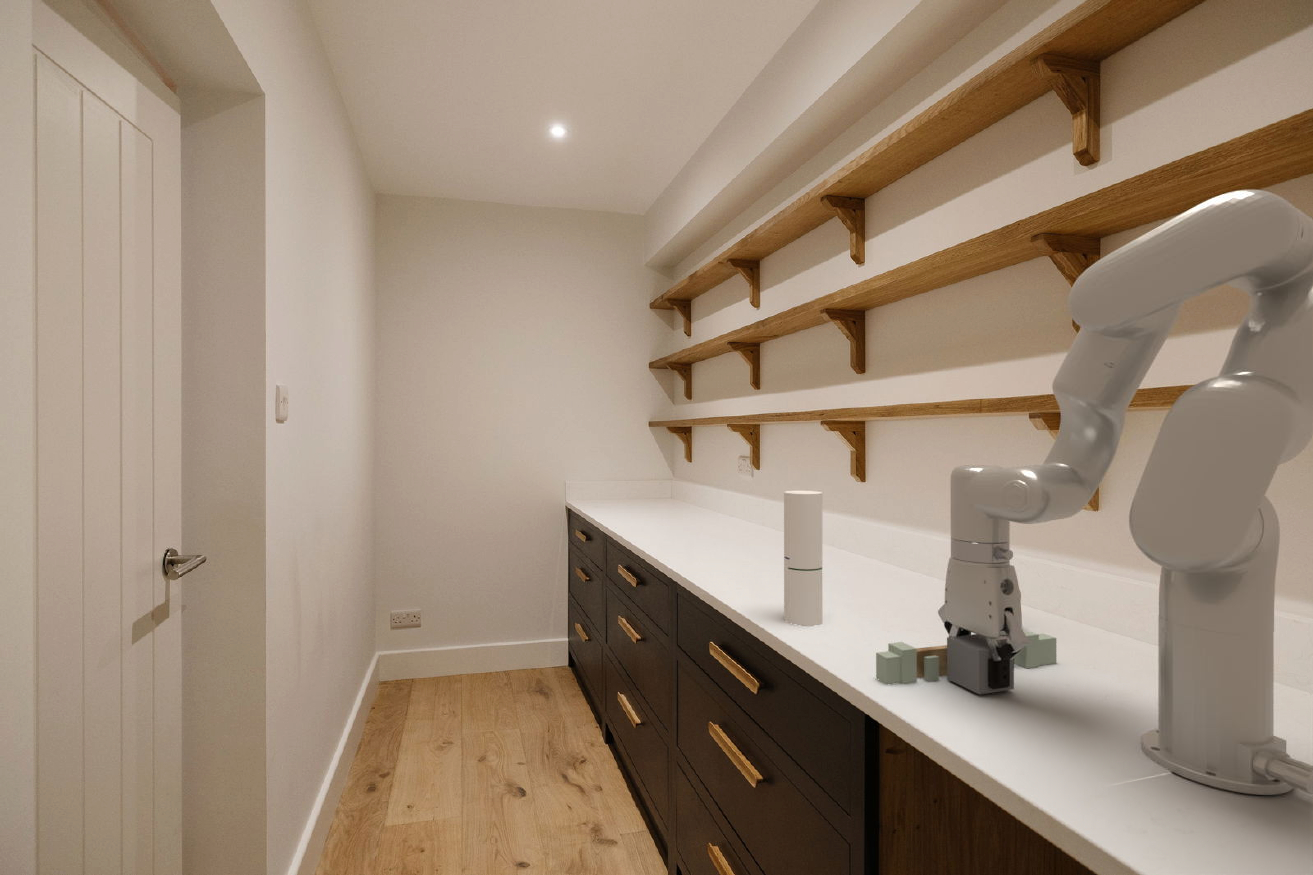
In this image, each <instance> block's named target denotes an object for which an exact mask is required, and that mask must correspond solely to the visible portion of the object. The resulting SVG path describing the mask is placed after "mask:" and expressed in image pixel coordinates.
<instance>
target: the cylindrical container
mask: <svg viewBox="0 0 1313 875" xmlns="http://www.w3.org/2000/svg"><path fill="white" fill-rule="evenodd" d="M783 556H784V557H783V603H784V604H783V610H784V611H783V614H784V615H783V620H784V622H785V621H787V622H788V623H787V622H786V623H787V624H789V623H792V624H791V625H793V624H797V625H796V626H798V625H801V626H800V627H815V626H814V625H817V626H820V625H822V624H823V492H822V491H817V490H816V491H815V490H787V491H784V492H783Z"/></svg>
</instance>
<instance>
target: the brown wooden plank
mask: <svg viewBox="0 0 1313 875" xmlns="http://www.w3.org/2000/svg"><path fill="white" fill-rule="evenodd" d="M1008 636H1009V635H1008ZM1009 639H1010V640H1011V636H1009ZM999 641H1000V640H999ZM915 648H916V649H917V679H920V678H924V657H926V656H935V655H936V656H938V657H939V677H940V676H947V644H945V645H937V646H935V645H934V646H927V647H915Z"/></svg>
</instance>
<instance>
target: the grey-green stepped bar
mask: <svg viewBox="0 0 1313 875" xmlns="http://www.w3.org/2000/svg"><path fill="white" fill-rule="evenodd" d="M1022 630H1023V632H1024V633H1025V635H1026V636H1027V638H1028V640H1029V643H1028V644H1027V645H1026V646H1025V647H1023V648H1022V649H1020V651H1019V652H1018V653H1017V654H1016V655H1015V656H1014V665H1017V666H1019V667H1022V668H1024V669H1033V668H1039V666H1047V665H1055V664H1057V637H1055V636H1051V635H1049V634H1047V633H1035V632H1032V631H1029V630H1026V629H1023V628H1022ZM887 644H888V647H887V650H888V651H880V652H875V654H876V655H875V673H876V674H875V678H877V679H879V680H880V681H879V680H878V681H879V682H881V683H882V682H884V683H885V684H884V683H883V684H884V685H886V684H890V685H894V684H893V683H899V684H901V683H902V684H901V685H908V684H916V683H918V680H917V679H918V678H917V649H916V648H917V647H913V646H912V645H910V644H907V643H905V642H903V641H899V642H890V643H887ZM877 679H876V680H877ZM923 681H925V682H927V683H928V682H938V681H940V676H939V657H938V656H936V655H935V656H926V657H924V677H923Z"/></svg>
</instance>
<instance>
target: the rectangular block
mask: <svg viewBox="0 0 1313 875" xmlns="http://www.w3.org/2000/svg"><path fill="white" fill-rule="evenodd" d="M997 643H998V647H999V649H1000V648H1001V647H1002V645H1001V642H1000V641H999V640H998V641H997ZM946 645H947V675H946V679H947V680H949V681H951V682H953V683H955V684H957V685H959V686H961V687H963V688H965V689H967V690H969V691H971V692H973V693H975V694H978V695H984V694H990V693H997V692H1003V691H1004V692H1005V691H1011V690H1015V664H1014V658H1013V659H1010V686H1009V687H1007V688H1000V689H991V688H989V686H988V659H992V656H991V653H990V649H989V646H988V642H987V639H986V637H983V636H981V635H978V634H975V633H973V634H971V635H964V636H955V637H949V636H948V637H946Z"/></svg>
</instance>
